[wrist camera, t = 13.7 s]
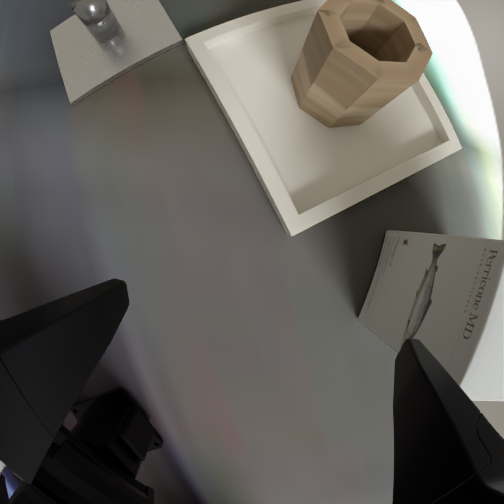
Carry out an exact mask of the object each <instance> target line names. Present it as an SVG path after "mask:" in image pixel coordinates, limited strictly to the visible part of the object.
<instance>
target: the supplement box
mask: <svg viewBox="0 0 504 504" xmlns="http://www.w3.org/2000/svg"><path fill="white" fill-rule="evenodd" d="M358 321H359V322H360V323H362V324H363V325H364V326H365V327H366V328H368V329H369V330H370V331H372V332H373V333H374V334H375V335H376V336H378V337H379V338H380V339H381V340H383V341H384V342H385V343H386V344H388V345H389V346H390V347H391V348H392V349H394V350H395V351H396V352H397V353H399V351H400V349H401V347H402V345H403V343H404V341H405V340H406V339H407V338H412V339H418V340H420V341H421V342H422V343H423V345H424V346H425V347H426V348H427V349H428V350H429V351H430V352H431V354H432V355H433V356H434V357H435V358H436V359H437V360H438V361H439V363H440V364H441V365H442V366H443V367H444V368H445V370H446V371H447V372H448V373H449V374H450V375H451V377H452V378H453V379H454V380H455V381H456V382H457V384H458V385H459V386H460V387H461V388H462V390H463V391H464V392H465V393H466V394H467V396H468V397H469V398H470V399H471V400H474V401H504V241H503V240H494V239H485V238H476V237H466V236H456V235H445V234H431V233H419V232H407V231H394V230H387V231H386V234H385V239H384V243H383V247H382V251H381V255H380V258H379V262H378V265H377V268H376V271H375V274H374V277H373V280H372V283H371V286H370V289H369V292H368V294H367V297H366V300H365V302H364V305H363V308H362V310H361V312H360V315H359V317H358Z"/></svg>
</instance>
